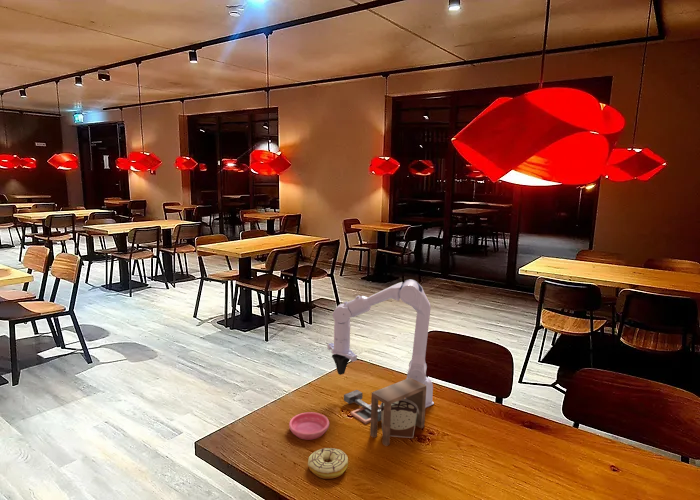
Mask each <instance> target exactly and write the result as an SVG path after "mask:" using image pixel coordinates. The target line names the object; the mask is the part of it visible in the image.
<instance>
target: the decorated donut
mask: <svg viewBox="0 0 700 500" xmlns="http://www.w3.org/2000/svg"><path fill="white" fill-rule="evenodd" d="M348 465H349V458H348V455H347V454H346V453H345V451H343V450H341V449H339V448H334V447H333V448H332V447H330V448H329V447H324V448H320V449H317V450H315V451H314V452H312V453H311V454H310V456H308V461H307V467H308V470H309V471H310V472H312V474H313V475H314V476H317V477H318V478H320V479H326V480H331V479H332V480H333V479H335V478H339V477H341V476H342V475H343V474H344V472H345V471H346V470H347V468H348V467H349V466H348Z"/></svg>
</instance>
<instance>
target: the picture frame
mask: <svg viewBox="0 0 700 500" xmlns="http://www.w3.org/2000/svg"><path fill="white" fill-rule="evenodd" d="M368 405H370V406H371V403H369V404H368ZM380 405H381V404H378V410H379V408H380ZM380 409H381V408H380ZM350 415H351V416H352V417H355V419H357V420H358V421H361V422H362V423H363V424H365V425H366V424H369V423H371V412H369V411H368V410H366V409H365V408H363V407H359V408H357V409H355V410H352V411H350Z"/></svg>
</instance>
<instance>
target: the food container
mask: <svg viewBox="0 0 700 500" xmlns="http://www.w3.org/2000/svg"><path fill="white" fill-rule="evenodd" d="M379 405H380V408H381V421H380V422H381V430H382V435H383V418H384V403H382V402H381V403H380V404H379ZM380 408H379V410H380ZM417 412H418V413H419V410H418V407H417V405H416V404H415V403H414V402H412V401H410V400H408V399H405V398H404V399H402V400H399V401H397V402H395V403H392V404H391V423H390V437H393V438H406V439H407V438H409V439H414V435H415V429H416V425H415V424H416V418H417Z"/></svg>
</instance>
